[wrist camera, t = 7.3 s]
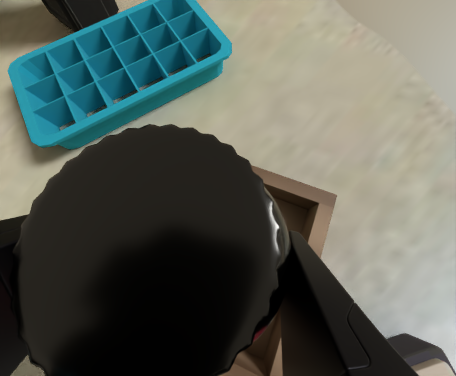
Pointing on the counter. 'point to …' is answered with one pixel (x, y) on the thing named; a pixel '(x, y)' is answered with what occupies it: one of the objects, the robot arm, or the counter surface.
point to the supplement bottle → (149, 259)
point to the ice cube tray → (116, 70)
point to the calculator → (422, 356)
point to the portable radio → (81, 11)
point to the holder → (314, 235)
